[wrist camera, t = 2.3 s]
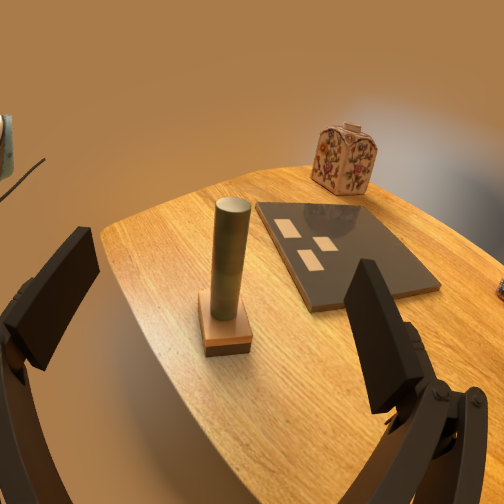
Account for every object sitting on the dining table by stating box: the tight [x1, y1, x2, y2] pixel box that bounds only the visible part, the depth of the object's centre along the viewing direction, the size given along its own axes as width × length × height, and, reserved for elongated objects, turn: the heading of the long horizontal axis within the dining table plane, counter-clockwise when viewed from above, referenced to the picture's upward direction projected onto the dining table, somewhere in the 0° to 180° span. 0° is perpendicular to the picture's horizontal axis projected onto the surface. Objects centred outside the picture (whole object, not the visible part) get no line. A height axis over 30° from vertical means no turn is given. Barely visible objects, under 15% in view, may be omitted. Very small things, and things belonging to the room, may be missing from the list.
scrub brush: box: [198, 197, 253, 357], centre depth 26 cm, size 7×5×15 cm, turn 13°
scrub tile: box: [255, 202, 442, 313], centre depth 48 cm, size 28×26×1 cm
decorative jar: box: [311, 122, 377, 195], centre depth 69 cm, size 12×12×18 cm
